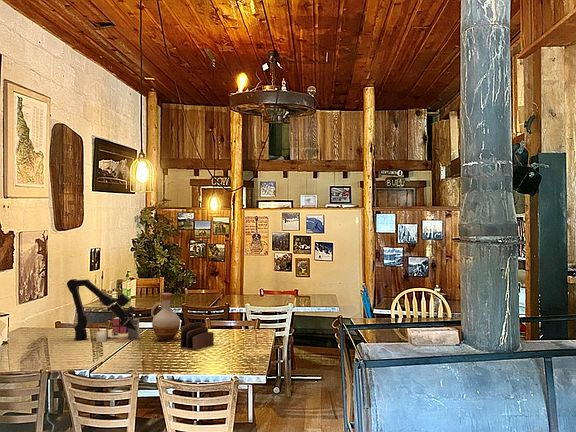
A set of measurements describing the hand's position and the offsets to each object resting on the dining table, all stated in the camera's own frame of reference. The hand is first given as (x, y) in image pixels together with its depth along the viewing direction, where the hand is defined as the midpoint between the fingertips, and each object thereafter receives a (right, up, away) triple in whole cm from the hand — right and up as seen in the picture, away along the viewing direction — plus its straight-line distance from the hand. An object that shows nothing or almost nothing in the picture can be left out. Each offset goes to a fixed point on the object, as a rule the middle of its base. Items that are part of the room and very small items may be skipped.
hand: (135, 328), depth 368 cm
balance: (-19, -7, -1) cm, 20 cm away
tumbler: (-1, -7, 0) cm, 7 cm away
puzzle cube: (-16, -7, +23) cm, 29 cm away
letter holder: (+44, -7, -25) cm, 51 cm away
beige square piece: (-19, -6, -9) cm, 22 cm away
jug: (+20, -7, -4) cm, 21 cm away
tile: (-7, -6, -9) cm, 13 cm away
